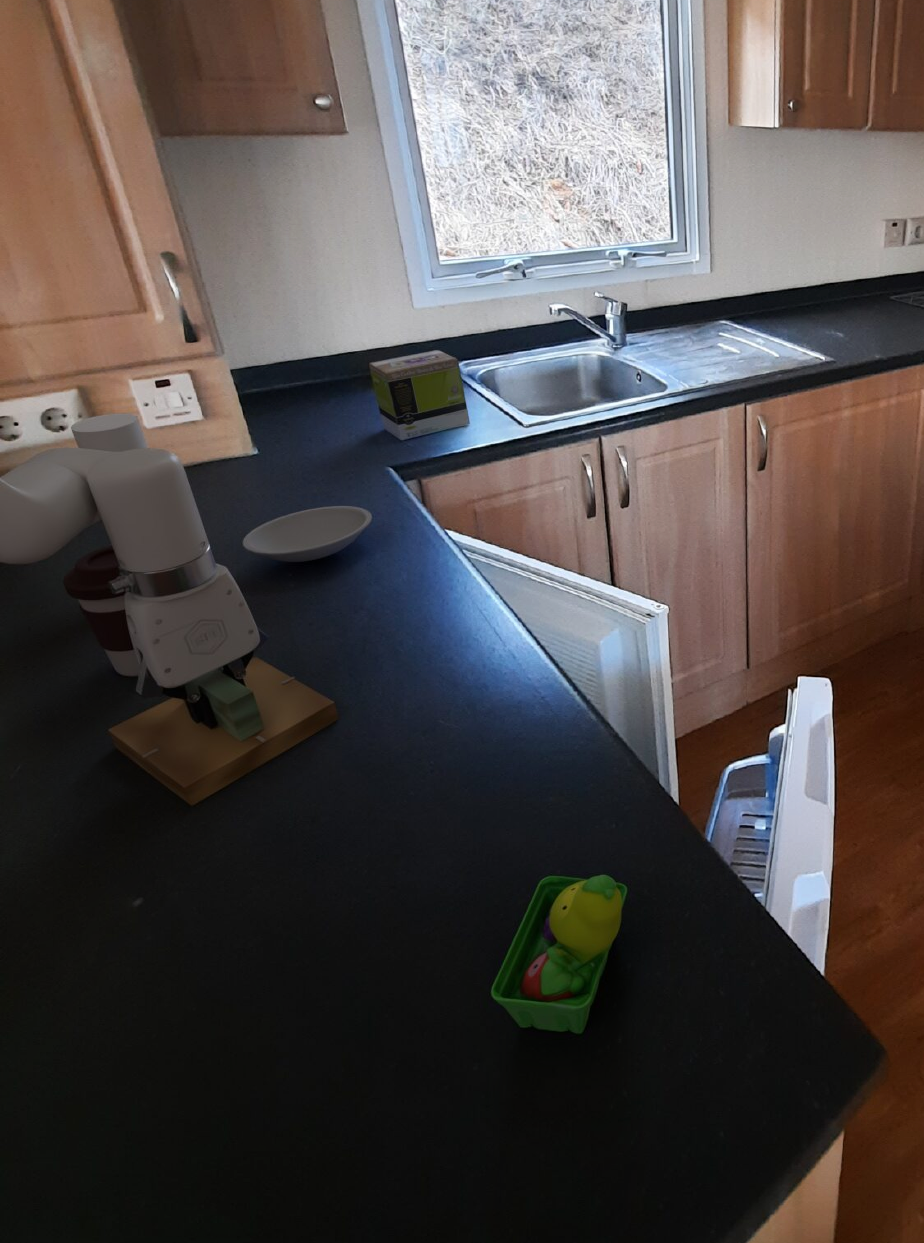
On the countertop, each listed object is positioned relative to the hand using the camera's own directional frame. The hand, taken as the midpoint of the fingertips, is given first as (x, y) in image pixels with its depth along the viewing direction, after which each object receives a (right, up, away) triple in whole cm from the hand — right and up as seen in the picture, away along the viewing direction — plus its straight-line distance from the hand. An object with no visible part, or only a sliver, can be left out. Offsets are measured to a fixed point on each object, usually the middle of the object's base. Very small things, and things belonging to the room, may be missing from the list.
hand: (223, 713), depth 95 cm
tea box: (-15, +42, +88) cm, 99 cm away
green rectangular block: (0, 0, 0) cm, 0 cm away
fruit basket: (+45, -16, -25) cm, 54 cm away
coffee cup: (-18, +4, +13) cm, 22 cm away
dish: (-10, +16, +37) cm, 42 cm away
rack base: (0, -2, +1) cm, 3 cm away
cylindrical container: (-28, +12, +29) cm, 42 cm away
